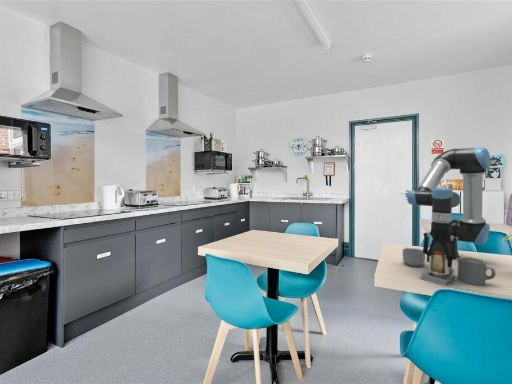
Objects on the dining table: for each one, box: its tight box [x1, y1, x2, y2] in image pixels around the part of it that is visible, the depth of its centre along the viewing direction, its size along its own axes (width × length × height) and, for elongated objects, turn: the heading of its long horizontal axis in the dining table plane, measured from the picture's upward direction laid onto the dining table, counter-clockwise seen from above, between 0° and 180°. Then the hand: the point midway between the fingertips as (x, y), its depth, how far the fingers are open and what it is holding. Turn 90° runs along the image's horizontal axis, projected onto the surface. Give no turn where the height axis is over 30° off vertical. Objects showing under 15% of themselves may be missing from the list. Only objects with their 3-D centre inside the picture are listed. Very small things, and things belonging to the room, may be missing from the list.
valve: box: [431, 251, 447, 276], centre depth 129 cm, size 6×6×10 cm
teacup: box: [402, 247, 426, 267], centre depth 154 cm, size 14×11×8 cm
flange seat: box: [419, 266, 458, 287], centre depth 131 cm, size 17×11×5 cm, turn 126°
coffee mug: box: [456, 256, 497, 287], centre depth 127 cm, size 13×10×10 cm
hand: (438, 271), depth 129 cm, fingers closed on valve, 6 cm apart
